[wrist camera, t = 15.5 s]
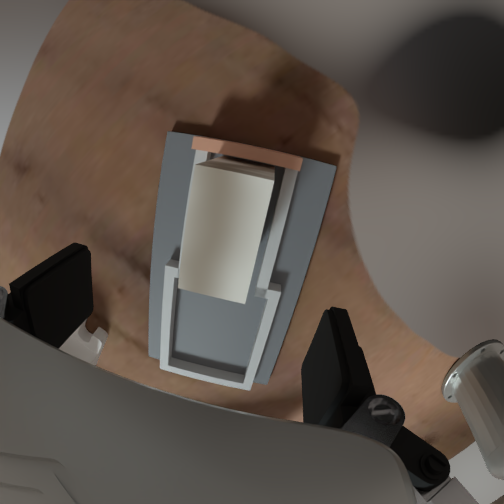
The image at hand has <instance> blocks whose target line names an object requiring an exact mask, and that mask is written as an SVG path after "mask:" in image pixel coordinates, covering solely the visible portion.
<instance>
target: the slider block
mask: <svg viewBox="0 0 504 504" xmlns="http://www.w3.org/2000/svg"><path fill="white" fill-rule="evenodd" d="M274 175H275V167H273V166H268V165H264V164H260V163H255V162H250V161H246V160H241V159H236V158H231V157H226V156H221V157H218V158H214V159H211V160H208V161H205V162H202V163H198V164H195V169H194V175H193V181H192V187H191V193H190V199H189V205H188V212H187V219H186V226H185V233H184V240H183V248H182V256H181V264H180V273H179V282H178V288H180V289H183V290H187V291H191V292H195V293H200V294H204V295H208V296H212V297H216V298H220V299H225V300H229V301H233V302H238V303H242V304H245V302H246V298H247V294H248V290H249V286H250V282H251V277H252V273H253V269H254V265H255V261H256V257H257V252H258V248H259V244H260V240H261V236H262V231H263V227H264V223H265V219H266V215H267V210H268V206H269V202H270V198H271V193H272V189H273V185H274Z"/></svg>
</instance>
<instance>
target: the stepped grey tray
mask: <svg viewBox="0 0 504 504" xmlns="http://www.w3.org/2000/svg"><path fill="white" fill-rule="evenodd" d="M221 156H226V157H231V158H236V159H241V160H246V161H250V162H255V163H260V164H264V165H268V166H273V167H275V175H274V185H273V189H272V193H271V198H270V202H269V206H268V210H267V215H266V219H265V223H264V227H263V231H262V236H261V240H260V244H259V248H258V252H257V257H256V261H255V265H254V269H253V273H252V277H251V282H250V286H249V290H248V294H247V298H246V302H245V304H242V303H238V302H233V301H229V300H225V299H220V298H216V297H212V296H208V295H204V294H200V293H195V292H191V291H187V290H183V289H180V288H178V282H179V273H180V264H181V256H182V248H183V240H184V233H185V226H186V219H187V212H188V205H189V199H190V193H191V187H192V181H193V175H194V169H195V164H198V163H202V162H205V161H208V160H211V159H214V158H218V157H221ZM336 167H337V166H334V165H331V164H327V163H324V162H320V161H316V160H313V159H309V158H305V157H301V156H297V155H293V154H289V153H285V152H280V151H276V150H272V149H267V148H263V147H258V146H253V145H248V144H244V143H238V142H233V141H228V140H222V139H217V138H211V137H205V136H199V135H192V134H186V133H178V132H170V131H168V132H167V138H166V144H165V149H164V156H163V162H162V169H161V175H160V183H159V190H158V198H157V206H156V215H155V225H154V235H153V247H152V260H151V276H150V297H149V356H150V357H153V358H156V359H160V369H163V370H166V371H170V372H173V373H177V374H180V375H184V376H188V377H192V378H196V379H199V380H204V381H208V382H212V383H216V384H221V385H225V386H230V387H234V388H239V389H244V390H250V389H251V386H252V383H253V382H255V383H260V384H266V385H267V383H268V381H269V378H270V375H271V373H272V370H273V367H274V365H275V362H276V359H277V357H278V354H279V351H280V348H281V346H282V343H283V340H284V337H285V334H286V332H287V329H288V326H289V323H290V320H291V317H292V314H293V311H294V308H295V305H296V302H297V299H298V296H299V293H300V290H301V287H302V284H303V281H304V278H305V275H306V272H307V269H308V265H309V262H310V259H311V256H312V252H313V249H314V246H315V243H316V239H317V236H318V232H319V229H320V226H321V222H322V219H323V215H324V212H325V208H326V205H327V201H328V197H329V194H330V190H331V186H332V183H333V179H334V175H335V171H336Z"/></svg>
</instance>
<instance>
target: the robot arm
mask: <svg viewBox="0 0 504 504" xmlns="http://www.w3.org/2000/svg"><path fill="white" fill-rule="evenodd" d="M9 285H10V290H11V293H9V294H8V293H7V290H6V289H5V288H4V287H1V286H0V504H478V502H477V501H476V500H475V499H474V498H473V497H472V495H471V494H470V493H469V492H468V491H467V490H466V489H465V487H463V485H462V484H461V483H460V482H459V481H458V480H457V478H456V477H454V478H452V479H451V478H450V477H449V473H450V464H449V461H448V460H447V458H446V457H445V455H444V454H442V453H441V452H440V451H438V450H437V449H435V448H434V447H433V446H431V445H430V444H428V443H427V442H425V441H424V440H422V439H421V438H419V437H418V436H417V435H415V434H414V433H412V432H411V431H409V430H408V429H407V428H405V427H404V426H402V425H403V424H404V421H405V412H404V410H403V408H402V407H401V405H400V404H399V403H398V402H397V401H395V400H394V399H393V398H391V397H389V396H385V395H376V393H375V389H374V386H373V382H372V379H371V376H370V373H369V369H368V366H367V363H366V360H365V357H364V354H363V350H362V348H361V347H360V346H359V345H358V342H357V339H356V336H355V333H354V330H353V327H352V324H351V321H350V318H349V315H348V312H347V310H346V309H341V308H336V307H331V308H330V310H327V309H326V310H325V311H324V313H323V315H322V318H321V320H320V323H319V326H318V328H317V330H316V333H315V335H314V338H313V340H312V343H311V345H310V347H309V350H308V352H307V354H306V357H305V359H304V361H303V364H302V369H301V375H302V396H303V422H304V423H302V422H297V421H291V420H285V419H279V418H273V417H267V416H261V415H256V414H252V413H247V412H242V411H237V410H233V409H228V408H224V407H220V406H216V405H211V404H208V403H204V402H200V401H196V400H193V399H189V398H185V397H182V396H179V395H175V394H172V393H169V392H166V391H162V390H159V389H156V388H153V387H150V386H147V385H144V384H141V383H139V382H136V381H133V380H130V379H128V378H125V377H122V376H120V375H117V374H115V373H112V372H109V371H107V370H105V369H102V368H100V367H97V366H95V365H93V364H90V363H88V362H86V361H83V360H81V359H79V358H77V357H75V356H72V355H70V354H68V353H66V352H64V351H62V350H60V349H59V348H60V347H61V346H62V345H63V344H64V342H65V341H66V340H67V339H68V338H69V337H70V336H71V335H72V334H73V333H74V332H75V331H76V329H77V328H78V327H79V326H80V325H81V324H82V323H83V322H84V321H85V320H86V319H87V318H88V317H89V316H90V315H91V313H92V311H93V293H92V276H91V253H90V251H89V250H88V247H87V246H85V245H82V244H79V243H72V244H71V245H69V246H67V247H66V248H64V249H62V250H61V251H59V252H58V253H56V254H54V255H53V256H51V257H49V258H48V259H46V260H45V261H43V262H42V263H40V264H38V265H37V266H35V267H34V268H32V269H31V270H29V271H28V272H26V273H25V274H23V275H22V276H20V277H19V278H17V279H16V280H14V281H13V282H11V283H10V284H9ZM442 394H443V396H444V398H445V399H446V400H447V401H449V402H458V404H459V406H460V408H461V410H462V412H463V414H464V416H465V418H466V421H467V423H468V425H469V427H470V429H471V431H472V433H473V436H474V438H475V440H476V442H477V445H478V447H479V449H480V452H481V454H482V456H483V459H484V461H485V464H486V466H487V469H488V470H489V472H490V473H491V475H492V476H494V477H495V478H498V479H502V480H504V345H503V344H502V343H501V342H500V341H498V340H494V339H493V340H488V341H485V342H482V343H480V344H478V345H476V346H475V347H474V348H472V349H470V350H469V351H468V352H467V353H465V354H464V355H463V356H462V357H461V358H460V359H459V360H458V361H457V362H456V363H455V364H454V365H453V367H452V368H451V369H450V371H449V372H448V374H447V376H446V377H445V379H444V382H443V385H442ZM491 504H504V495H503V496H501V497H500V498H498V499H497V500H495V501H494V502H492V503H491Z"/></svg>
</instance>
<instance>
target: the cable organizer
mask: <svg viewBox="0 0 504 504" xmlns="http://www.w3.org/2000/svg"><path fill="white" fill-rule="evenodd" d="M86 320H87V319H86ZM86 320H85V321H84V322H83V323H82V324H81V325H80V326H79V327H78V328H77V329H76V331H75V332H74V333H73V334H72V335H71V336H70V337H69V338H68V339H67V340H66V341H65V342H64V344H63V345H62V346H61V347H60V348H59V349H60V350H62V351H64V352H66V353H68V354H70V355H72V356H75V357H77V358H79V359H81V360H83V361H86V362H88V363H90V364H93V365H95V366H96V364H97V361H98V359H99V356H100V354H101V351H102V349H103V347H104V344H105V342H106V340H107V337H108V334H107V332H106V331H105V330H103V329H102V328H100V327H98V328H97V330H96V331H95V332H94V333H93V334H91V333H90V332H88V331H87V329H86V327H85V323H86Z"/></svg>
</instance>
